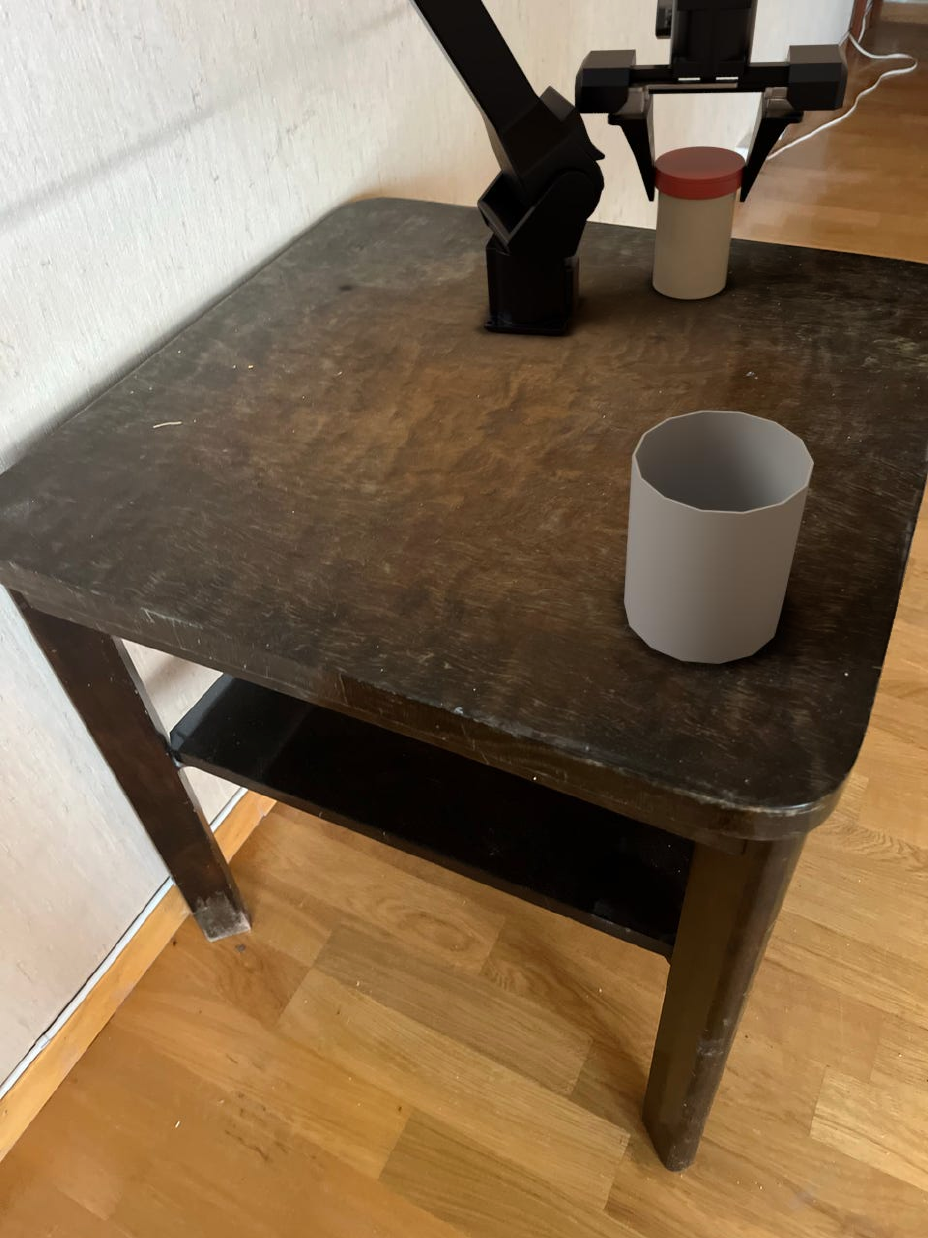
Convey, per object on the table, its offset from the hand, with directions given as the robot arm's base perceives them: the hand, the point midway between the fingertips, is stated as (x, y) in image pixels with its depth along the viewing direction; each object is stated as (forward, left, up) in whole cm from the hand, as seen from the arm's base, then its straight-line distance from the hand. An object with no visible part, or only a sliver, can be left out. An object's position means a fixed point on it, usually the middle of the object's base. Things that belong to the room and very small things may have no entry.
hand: (696, 199), depth 75 cm
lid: (0, 0, +2) cm, 2 cm away
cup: (+4, -39, -7) cm, 40 cm away
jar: (0, 0, -7) cm, 7 cm away
